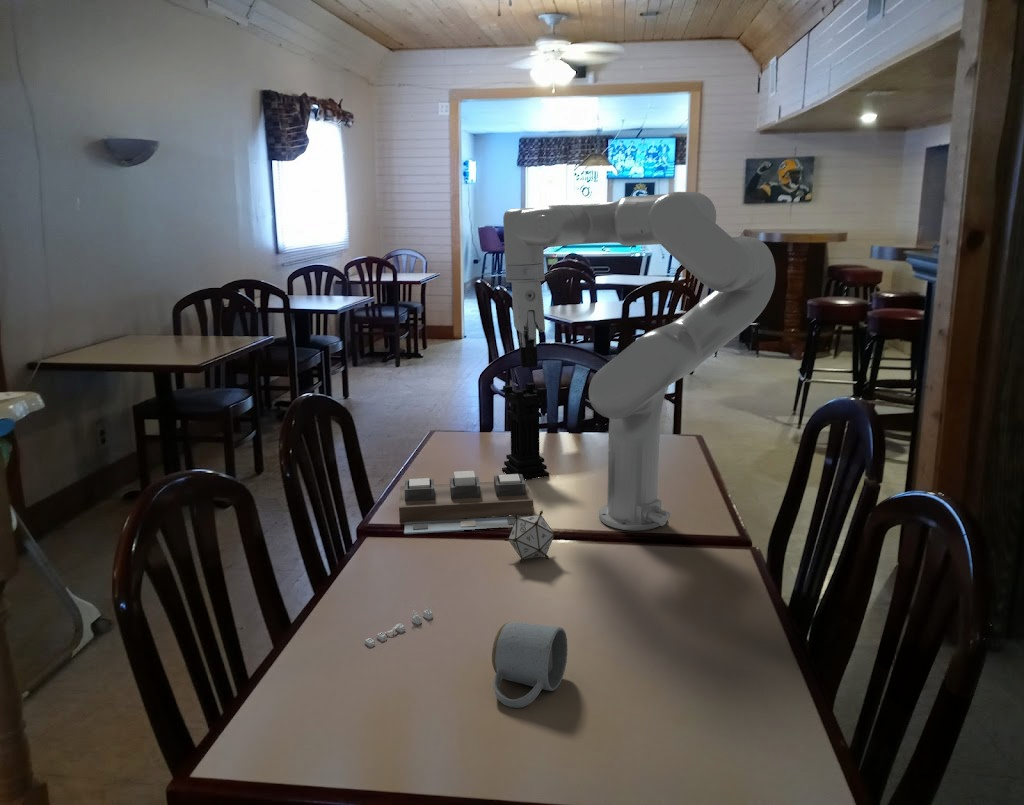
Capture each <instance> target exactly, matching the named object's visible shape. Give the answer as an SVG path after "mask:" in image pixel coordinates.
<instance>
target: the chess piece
mask: <svg viewBox="0 0 1024 805" xmlns="http://www.w3.org/2000/svg"><path fill="white" fill-rule="evenodd" d="M502 392H504V393H505V397H504V398H505V399H504V400H505V401H506V402H508V403H509V405H510V407H509V410H507V414H508V415H509V417H510V454H505V455H506V457H505V458H506V460H504V461H503V465H504V467H501V472H502V471H503V473H504V472H505V473H506V474H505V473H504V474H505V475H507V474H522V476H523V478H524V480H525V479H530V480H533V479H532V478H536V479H539V478H538V477H541V478H545V477H544V476H547V477H550V472H548V470H547V469H548V466H547V464H545V458H544V457H542V456H540V454H541V453H540V418H542V416H543V415H542V414H543V413H542V412H540V404H545V395H547V394H548V393H547V388H545V387H537V388H536V384H535V383H533V382H527V383H525V388H524V389H523V388H522V389H516V390H515V389H514V390H513V386H512V385H509V384H508V385H503V386H502ZM505 466H506V467H505Z"/></svg>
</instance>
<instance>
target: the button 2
mask: <svg viewBox="0 0 1024 805" xmlns="http://www.w3.org/2000/svg"><path fill="white" fill-rule="evenodd" d="M512 483H520V478H519V475H518V474H499V484H512Z"/></svg>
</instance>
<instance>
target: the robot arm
mask: <svg viewBox="0 0 1024 805" xmlns="http://www.w3.org/2000/svg"><path fill="white" fill-rule="evenodd" d="M502 218H503V221H502V222H503V240H504V242H503V244H504V261H505V283H511V296H512V297H511V298H512V317H513V326H514V328H515V329H516V330H517V331H518V336H519V363H520V367H521V368H523V369H524V368H536V367H538V346H537V331H539V332H540V333H543V332H545V330H546V325H545V324H546V323H545V321H546V320H545V312H544V310H545V309H544V308H545V307H544V297H543V288H542V283H541V282H542V281H545V280H546V278H545V253H544V252H545V251H544V248H545V247H546V248H555V247H562V246H563V247H564V246H565V247H566V246H574V245H586V244H587V245H589V244H611V243H612V244H613V243H614V244H615V243H616V244H620V245H622V246H625V247H626V246H627V247H630V246H631V247H633V246H649V245H660V246H662V247H663V249H665V250H666V251H667V253H669V254H670V255H671V256H672V257H673V258H674V259H675V260H676V261H678V263H680V264H681V265H682V267H684V268H685V269H686V270H687V271H688V272H689V273H690V274H691V275H693V277H694V278H696V279H697V280H698V281H699V282H700V283H701V284H703V285H704V286H705V287H707V288H709V289H710V290H713V291H712V292H711V293H710V294H708V295H706V297H704V298H703V299H701V300H700V301H699V302H698V303H697V304H695V305H694V306H693V307H692V308H691V309H690V310H688V311H687V312H686V313H685V314H684V313H683V315H681V316H680V317H679V318H678V319H676V320H674V321H673V322H671V323H669V324H666V325H663V326H660V327H657V328H655V329H652V330H650V331H648V332H646V333H644V334H643V335H642V336H639V337H638V338H637V339H636V340H634V341H633V342H632V343H630V344H629V345H628V346H626V348H624V349H623V350H622V351H621V352H619V353H618V354H617V355H616V356H615V357H613V358H612V359H611V360H610V361H608V362H607V363H606V364H604V365H602V367H601V368H599V370H597V372H596V373H594V375H593V376H592V378H591V380H590V383H589V388H588V400H589V402H590V405H591V407H592V408H593V409H594V410H595V412H596V413H597V414H599V415H601V416H602V417H604V418H608V419H609V423H608V441H607V442H608V444H607V446H608V448H607V454H608V455H607V502H606V503H607V504H605V505H603V506H602V507H601V508H600V509H599V512H598V517H599V520H600V521H601V522H602V523H603V524H604V525H606V526H609V527H611V528H614V529H618V530H622V531H648V530H653V529H655V528H658V527H660V526H661V527H662V526H665V525H666V523H667V521H668V520H669V519H670V517H671V512H670V511H667V510H664V509H662V499H659V498H658V495H659V494H658V493H659V492H658V490H659V467H660V466H659V465H660V464H659V463H660V461H659V460H660V439H661V437H660V436H661V419H662V413H663V405H664V399H665V393H666V388H667V387H669V386H671V385H672V384H673V383H675V382H677V381H679V380H680V379H683V378H684V377H686V376H688V375H690V374H691V373H692V372H694V371H695V370H697V368H699V366H701V364H703V363H704V362H705V361H706V360H707V359H709V358H710V357H712V356H713V354H715V353H716V352H718V351H719V350H721V349H722V348H723V347H725V346H726V345H727V344H728V343H729V342H730V341H732V340H733V339H734V338H735V337H737V336H738V335H739V334H741V333H742V332H743V331H744V330H746V329H748V327H749V326H750V325H751V324H753V323H754V322H755V321H756V319H757V318H758V317H759V316H760V315H761V313H763V311H764V310H765V308H766V307H767V305H768V303H769V301H770V300H771V297H772V294H773V292H774V290H775V284H776V275H777V274H776V263H775V259H774V256H773V254H772V252H771V249H770V248H769V247H768V246H767V244H765V242H763V241H762V240H761V239H759V238H755V237H753V236H747V235H745V236H741V235H740V236H735V237H732V236H730V235H729V233H728V232H727V231H725V230H724V229H723V228H722V227H721V226H719V225H718V223H716V222H717V210H716V206H715V204H714V203H713V201H712V200H711V199H710V198H709V197H708V196H707V195H706V194H704V193H700V192H696V191H673V192H668V193H662V194H661V193H659V194H648V195H647V194H646V195H637V196H636V195H634V196H624V197H621V198H619V199H618V200H615V201H611V202H600V203H587V204H586V203H585V204H559V205H558V204H557V205H555V204H554V205H544V206H541V207H537V208H535V207H525V208H523V207H522V208H511V209H508V210H506V211H504V214H503V216H502Z"/></svg>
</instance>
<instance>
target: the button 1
mask: <svg viewBox="0 0 1024 805" xmlns="http://www.w3.org/2000/svg"><path fill="white" fill-rule="evenodd" d="M429 479H430V478H429V477H425V478H424V477H423V478H409V479H408V480H409V489H412V488H430V480H429Z"/></svg>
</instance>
